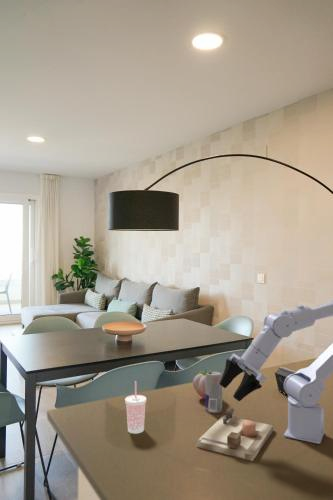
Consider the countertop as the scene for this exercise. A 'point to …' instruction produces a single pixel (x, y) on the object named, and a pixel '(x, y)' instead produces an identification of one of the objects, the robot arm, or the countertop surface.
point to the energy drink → (213, 392)
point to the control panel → (223, 427)
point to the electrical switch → (282, 377)
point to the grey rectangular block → (229, 414)
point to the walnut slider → (234, 440)
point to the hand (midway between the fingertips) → (228, 392)
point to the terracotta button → (249, 429)
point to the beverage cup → (135, 412)
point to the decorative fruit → (200, 383)
